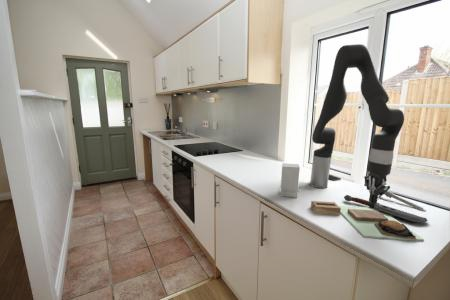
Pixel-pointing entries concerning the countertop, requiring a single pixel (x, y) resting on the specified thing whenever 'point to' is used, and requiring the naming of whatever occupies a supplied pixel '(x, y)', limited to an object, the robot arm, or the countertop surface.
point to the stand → (325, 207)
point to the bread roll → (394, 229)
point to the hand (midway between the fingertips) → (372, 202)
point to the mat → (371, 225)
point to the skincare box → (289, 180)
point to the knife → (387, 210)
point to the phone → (333, 178)
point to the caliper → (402, 200)
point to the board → (367, 215)
